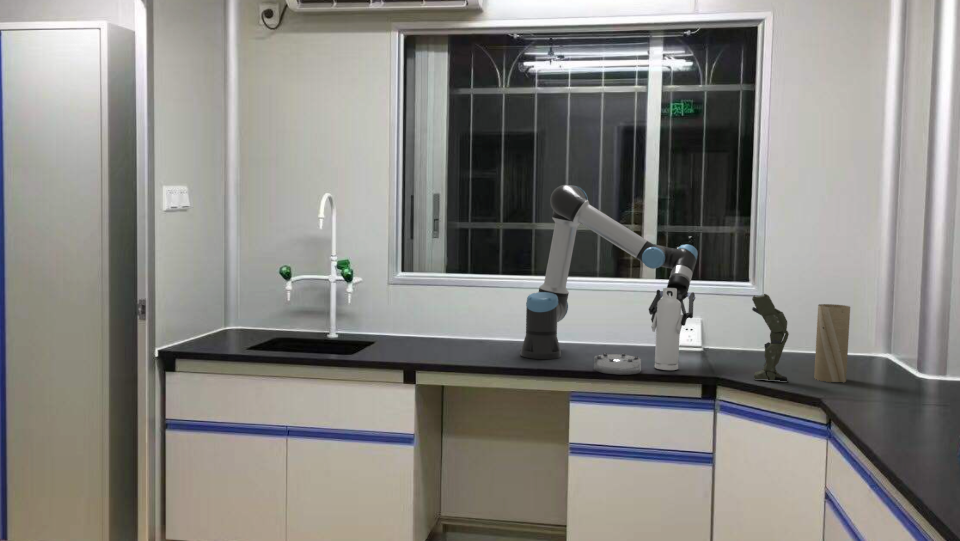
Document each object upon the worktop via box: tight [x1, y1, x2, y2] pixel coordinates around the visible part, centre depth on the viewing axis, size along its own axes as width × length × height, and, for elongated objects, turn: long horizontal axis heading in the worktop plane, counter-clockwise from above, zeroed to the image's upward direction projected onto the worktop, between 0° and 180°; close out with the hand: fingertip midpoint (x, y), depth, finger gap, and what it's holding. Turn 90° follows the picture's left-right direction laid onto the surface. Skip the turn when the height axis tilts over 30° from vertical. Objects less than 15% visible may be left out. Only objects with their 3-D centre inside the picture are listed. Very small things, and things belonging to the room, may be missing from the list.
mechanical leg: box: [751, 293, 790, 381], centre depth 278 cm, size 14×7×30 cm, turn 71°
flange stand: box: [593, 352, 642, 376], centre depth 291 cm, size 16×16×5 cm
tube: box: [813, 303, 851, 383], centre depth 281 cm, size 10×10×25 cm
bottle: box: [654, 287, 682, 371], centre depth 293 cm, size 8×8×28 cm
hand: (665, 330), depth 290 cm, fingers closed on bottle, 8 cm apart
